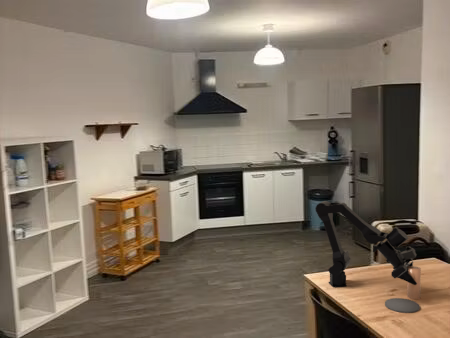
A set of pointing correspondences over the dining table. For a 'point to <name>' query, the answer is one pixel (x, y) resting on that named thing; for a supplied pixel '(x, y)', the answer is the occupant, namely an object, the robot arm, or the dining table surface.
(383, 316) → the dining table surface
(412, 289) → the tan rounded cylinder
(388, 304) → the mat
